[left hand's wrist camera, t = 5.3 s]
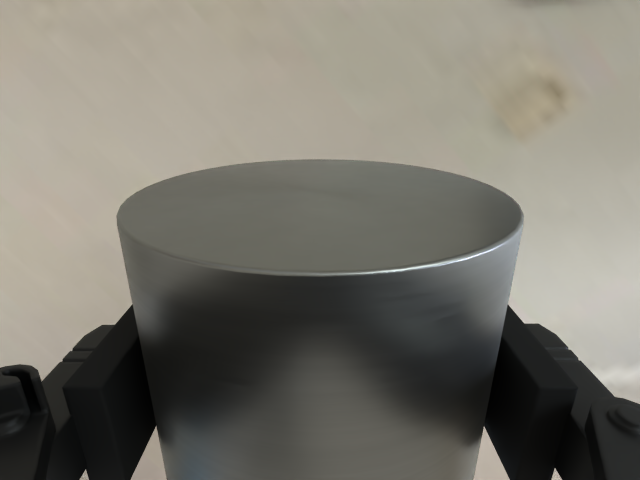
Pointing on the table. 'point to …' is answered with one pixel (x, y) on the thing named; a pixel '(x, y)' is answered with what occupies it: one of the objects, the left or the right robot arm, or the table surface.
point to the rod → (320, 317)
